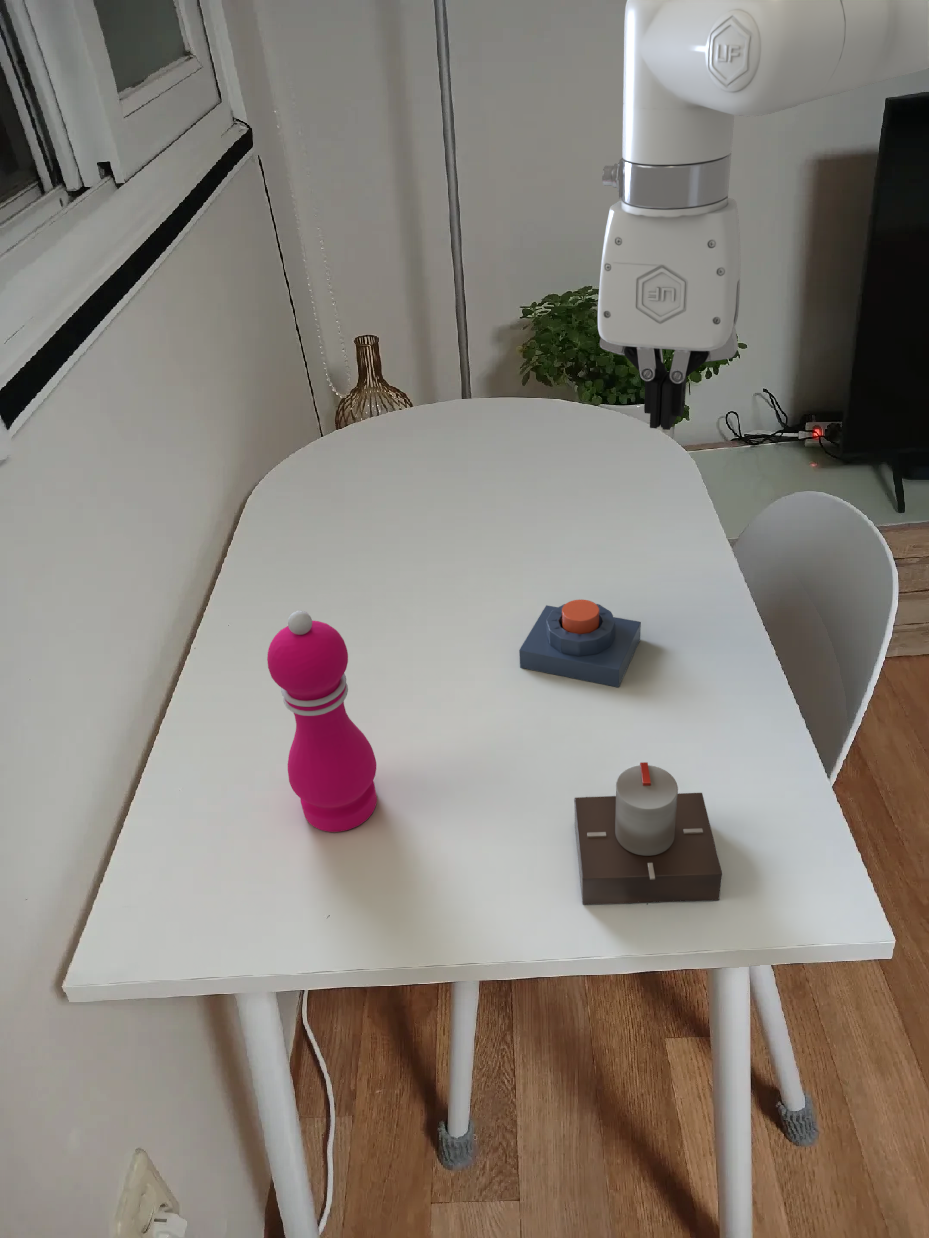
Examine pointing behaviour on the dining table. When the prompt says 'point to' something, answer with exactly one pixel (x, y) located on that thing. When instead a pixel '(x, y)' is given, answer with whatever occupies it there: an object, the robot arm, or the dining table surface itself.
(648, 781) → the dial knob
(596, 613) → the button
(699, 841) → the dial panel
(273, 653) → the pepper mill
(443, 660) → the dining table surface
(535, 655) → the button box
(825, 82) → the robot arm
